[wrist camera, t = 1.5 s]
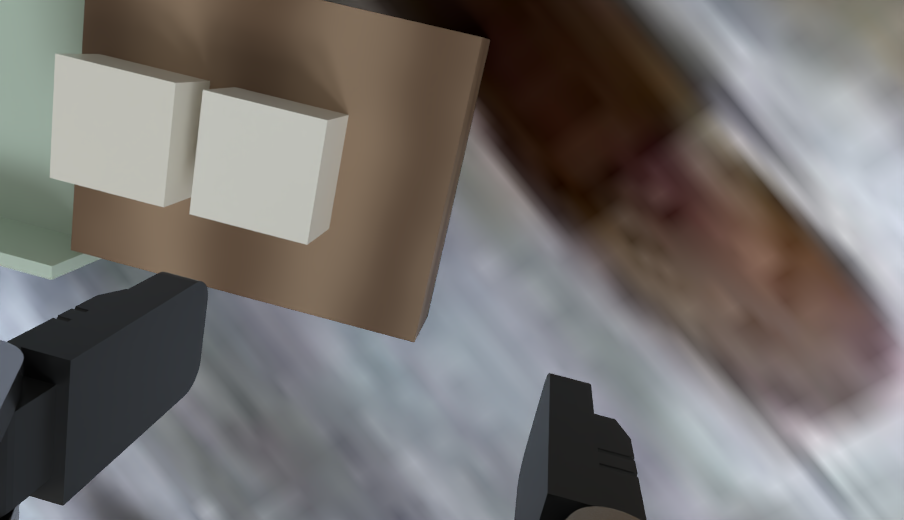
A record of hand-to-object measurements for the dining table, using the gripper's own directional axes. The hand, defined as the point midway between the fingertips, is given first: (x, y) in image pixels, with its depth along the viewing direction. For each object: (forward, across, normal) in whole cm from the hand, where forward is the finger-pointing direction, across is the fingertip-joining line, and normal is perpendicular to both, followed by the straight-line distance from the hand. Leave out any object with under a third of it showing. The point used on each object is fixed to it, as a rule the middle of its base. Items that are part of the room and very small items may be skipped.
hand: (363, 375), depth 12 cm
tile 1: (+15, +7, 0) cm, 16 cm away
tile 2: (+15, +13, 0) cm, 20 cm away
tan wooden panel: (+18, +8, 0) cm, 20 cm away
